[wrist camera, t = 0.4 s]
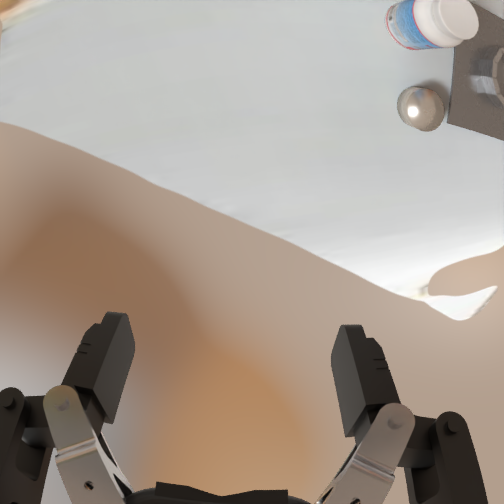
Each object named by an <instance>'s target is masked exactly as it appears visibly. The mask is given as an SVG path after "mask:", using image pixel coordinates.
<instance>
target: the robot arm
mask: <svg viewBox="0 0 504 504" xmlns="http://www.w3.org/2000/svg"><path fill="white" fill-rule="evenodd" d="M134 352H135V341H134V337H133V333H132V330H131V326H130V322H129V318H128V315H127V314H126V313H117V312H107V313H106V314H105V316H104V318H103V320H102V322H101V324H96V323H95V324H94V325H93V326H91V327H90V329H88V330H87V331H86V332H85V335H84V336H83V339H82V340H81V344H80V345H79V347H78V349H77V353H75V355H74V357H73V360H72V362H71V364H70V366H69V368H68V370H67V373H66V375H65V377H64V379H63V382H62V384H61V385H59V386H56V387H53V388H52V389H50V390H49V391H48V392H47V393H46V395H44V396H26V397H25V396H24V395H23V394H22V392H21V391H19V390H18V389H17V388H13V387H9V388H6V389H4V390H2V391H1V392H0V504H40V503H41V498H42V493H43V489H44V484H45V479H46V475H47V471H48V466H49V463H50V458H51V454H52V451H53V448H56V449H57V453H58V455H57V456H55V461H56V465H57V467H58V470H59V473H60V475H61V478H62V480H63V483H64V485H65V488H66V490H67V493H68V495H69V497H70V499H71V502H72V504H310V503H309V502H307V501H304V500H302V499H299V498H296V497H293V496H288V490H254V491H249V492H244V493H239V494H233V495H227V496H217V495H214V494H211V493H208V492H204V491H201V490H198V489H195V488H192V487H189V486H184V485H176V484H169V483H162V482H156V488H149V489H144V490H140V491H138V492H134V490H133V488H132V486H131V485H130V483H129V482H128V480H127V479H126V477H125V476H124V474H123V473H122V471H121V470H120V468H119V466H118V464H117V462H116V460H115V458H114V456H113V454H112V452H111V450H110V448H109V446H108V444H107V442H106V440H105V438H104V435H103V433H102V431H101V429H102V425H103V422H105V423H109V424H113V422H114V419H115V415H116V412H117V408H118V405H119V402H120V398H121V394H122V392H123V388H124V385H125V381H126V378H127V375H128V372H129V369H130V366H131V363H132V360H133V357H134ZM331 367H332V371H333V376H334V381H335V386H336V391H337V396H338V401H339V407H340V412H341V417H342V422H343V428H344V433H345V437H353V436H355V441H356V444H355V445H354V447H353V449H352V450H351V452H350V454H349V455H348V457H347V459H346V460H345V461H344V463H343V465H342V466H341V468H340V469H339V471H338V472H337V474H336V475H335V477H334V478H333V480H332V481H331V482H330V484H329V485H328V486H327V488H326V489H325V490H324V491H323V493H322V494H321V496H320V497H319V498H318V499H317V501H316V502H315V503H314V504H382V503H383V501H384V500H385V498H386V496H387V494H388V492H389V490H390V488H391V486H392V484H393V482H394V479H395V476H394V475H393V474H394V471H395V469H396V467H397V466H398V467H404V471H405V477H406V483H407V489H408V496H409V503H410V504H488V501H487V496H486V492H485V487H484V483H483V479H482V475H481V471H480V467H479V464H478V460H477V456H476V452H475V449H474V446H473V443H472V439H471V436H470V433H469V429H468V426H467V423H466V421H465V420H464V418H463V417H462V416H461V415H459V414H458V413H455V412H450V411H449V412H444V413H442V414H441V415H440V416H439V417H438V418H437V419H433V418H426V417H420V416H415V415H413V413H412V412H411V411H410V409H408V408H407V407H406V406H404V405H402V404H401V402H400V400H399V397H398V394H397V390H396V387H395V384H394V382H393V379H392V376H391V373H390V370H389V369H388V364H387V362H386V361H385V356H384V353H383V350H382V347H380V345H379V344H378V343H377V342H376V341H375V339H374V338H366V336H365V333H364V330H363V327H362V326H361V325H341V326H340V328H339V332H338V335H337V338H336V341H335V344H334V347H333V350H332V354H331Z"/></svg>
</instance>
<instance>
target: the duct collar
mask: <svg viewBox="0 0 504 504" xmlns="http://www.w3.org/2000/svg"><path fill="white" fill-rule="evenodd" d="M470 3H471V2H470ZM471 5H472V6H473V8H474V9H475V11H476V14H477V17H478V21H479V27H478V31H477V33H476V35H475V36H474V37H473V38H471V39H466V40H463V41H462V42H461V43H460V44H459V45H457V46H455V47H454V64H453V76H452V87H451V96H450V104H449V112H448V119H447V123H448V124H452V125H456V126H459V127H463V128H466V129H469V130H473V131H476V132H479V133H482V134H485V135H488V136H491V137H494V138H497V139H500V140H503V141H504V20H503V19H501V18H499V17H498V16H496V15H494V14H492V13H490V12H488V11H487V10H485V9H483V8H481V7H479V6H477V5H475V4H473V3H471Z"/></svg>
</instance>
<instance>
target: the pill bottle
mask: <svg viewBox="0 0 504 504" xmlns="http://www.w3.org/2000/svg"><path fill="white" fill-rule="evenodd" d="M385 25H386V28H387V31H388V33H389V34H390V36H391V37H392V38H393V39H394V40H395V41H396V42H397V43H398V44H399V45H401V46H402V47H404V48H407V49H410V50H421V49H433V48H449V47H455V46H457V45H459V44H460V43H461V42H462V41H463V40H466V39H471V38H473V37H474V36H475V35H476V33H477V31H478V27H479V21H478V17H477V14H476V11H475V9H474V8H473V6H472V5H471V3H470V2H469V1H468V0H404V1H401V2H399V3H397V4H394V5H393V6H391V7H390V8H389V9H388V11H387V13H386V16H385Z"/></svg>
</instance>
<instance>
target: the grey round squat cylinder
mask: <svg viewBox="0 0 504 504" xmlns="http://www.w3.org/2000/svg"><path fill="white" fill-rule="evenodd" d="M397 110H398V113H399V116H400V118H401V119H402V120H403V121H404V122H405V123H406V124H407V125H409V126H412V127H414V128H417V129H419V130H421V131H433V130H435V129H436V128H438V127H439V125H440V124H441V123H442V120H443V118H444V105H443V102H442V100H441V98H440V97H439V96H438V94H436V93H435V92H434V91H432V90H429V89H424V88H418V87H410V88H407V89H405V90H404V91H403V92H402V93H401V94H400V96H399V98H398V102H397Z"/></svg>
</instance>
